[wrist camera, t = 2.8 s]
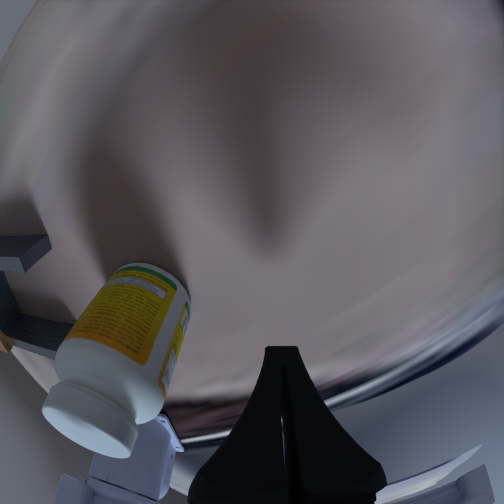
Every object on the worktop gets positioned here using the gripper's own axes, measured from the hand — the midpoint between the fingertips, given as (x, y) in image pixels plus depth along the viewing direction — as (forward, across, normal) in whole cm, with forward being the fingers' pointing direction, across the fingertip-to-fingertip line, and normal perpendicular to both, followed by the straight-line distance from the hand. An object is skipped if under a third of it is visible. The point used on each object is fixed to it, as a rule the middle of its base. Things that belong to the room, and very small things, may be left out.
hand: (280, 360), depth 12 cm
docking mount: (+4, +19, 0) cm, 19 cm away
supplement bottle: (+5, +8, 0) cm, 9 cm away
